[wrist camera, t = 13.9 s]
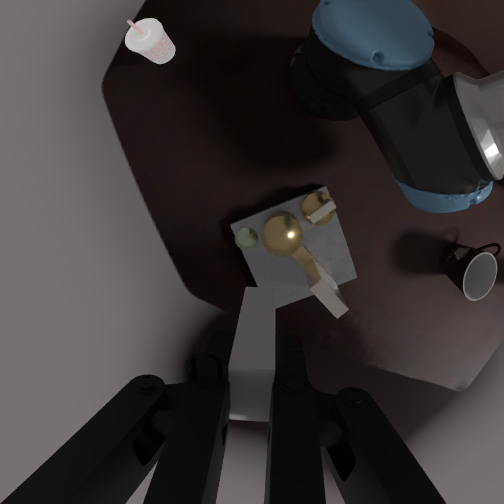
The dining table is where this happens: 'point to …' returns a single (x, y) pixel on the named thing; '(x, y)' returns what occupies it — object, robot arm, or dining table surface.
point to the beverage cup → (150, 40)
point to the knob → (301, 259)
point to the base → (314, 241)
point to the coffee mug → (470, 268)
